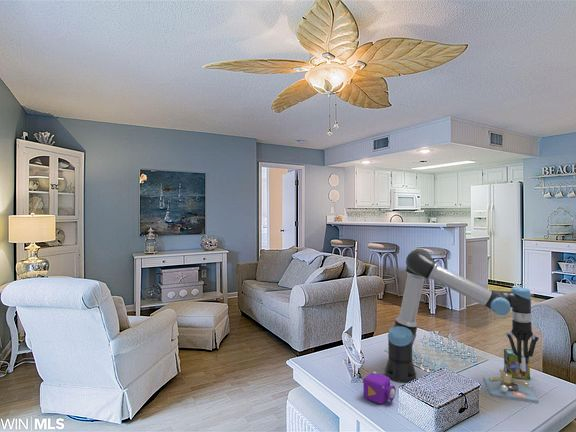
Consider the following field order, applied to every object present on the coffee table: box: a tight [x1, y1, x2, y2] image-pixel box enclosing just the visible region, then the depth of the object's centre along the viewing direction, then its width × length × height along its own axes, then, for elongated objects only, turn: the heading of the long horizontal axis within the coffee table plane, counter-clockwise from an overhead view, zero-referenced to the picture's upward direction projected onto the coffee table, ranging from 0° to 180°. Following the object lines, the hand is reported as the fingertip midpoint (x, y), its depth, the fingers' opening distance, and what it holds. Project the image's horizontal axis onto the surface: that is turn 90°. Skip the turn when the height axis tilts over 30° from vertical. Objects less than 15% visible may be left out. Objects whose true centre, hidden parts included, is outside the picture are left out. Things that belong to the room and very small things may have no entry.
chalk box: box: [503, 348, 531, 380], centre depth 172 cm, size 9×9×15 cm
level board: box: [482, 376, 540, 404], centre depth 157 cm, size 18×17×2 cm
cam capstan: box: [489, 368, 530, 392], centre depth 157 cm, size 16×17×6 cm
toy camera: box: [362, 371, 397, 405], centre depth 150 cm, size 11×14×10 cm
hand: (523, 370), depth 160 cm, fingers closed
